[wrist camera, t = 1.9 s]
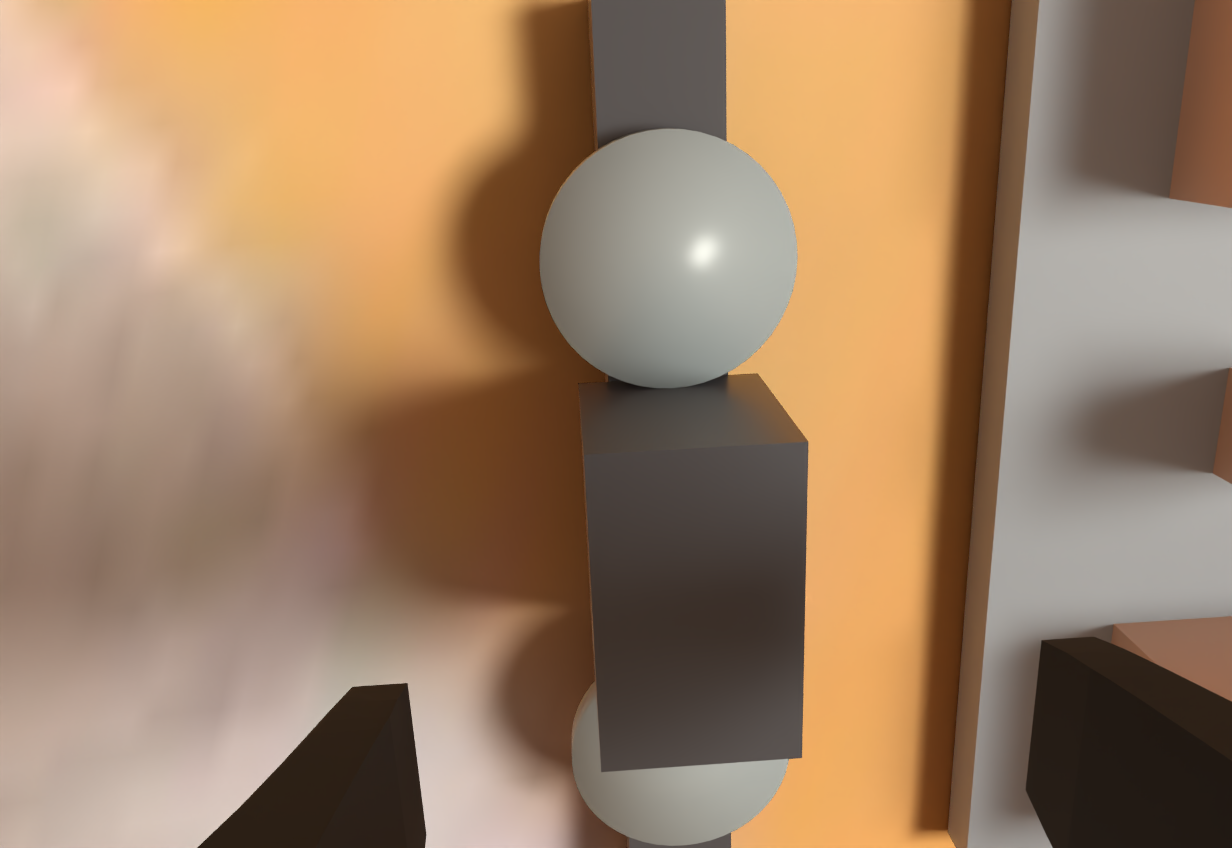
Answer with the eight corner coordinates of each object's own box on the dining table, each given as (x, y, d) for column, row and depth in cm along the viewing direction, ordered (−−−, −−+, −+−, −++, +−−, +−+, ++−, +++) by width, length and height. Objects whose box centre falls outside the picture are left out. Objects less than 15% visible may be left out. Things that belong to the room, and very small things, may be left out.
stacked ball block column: (765, 844, 21) (825, 1056, 17) (580, 858, 21) (587, 1076, 16) (771, -8, 16) (861, -55, 11) (526, 1, 16) (511, -42, 11)
